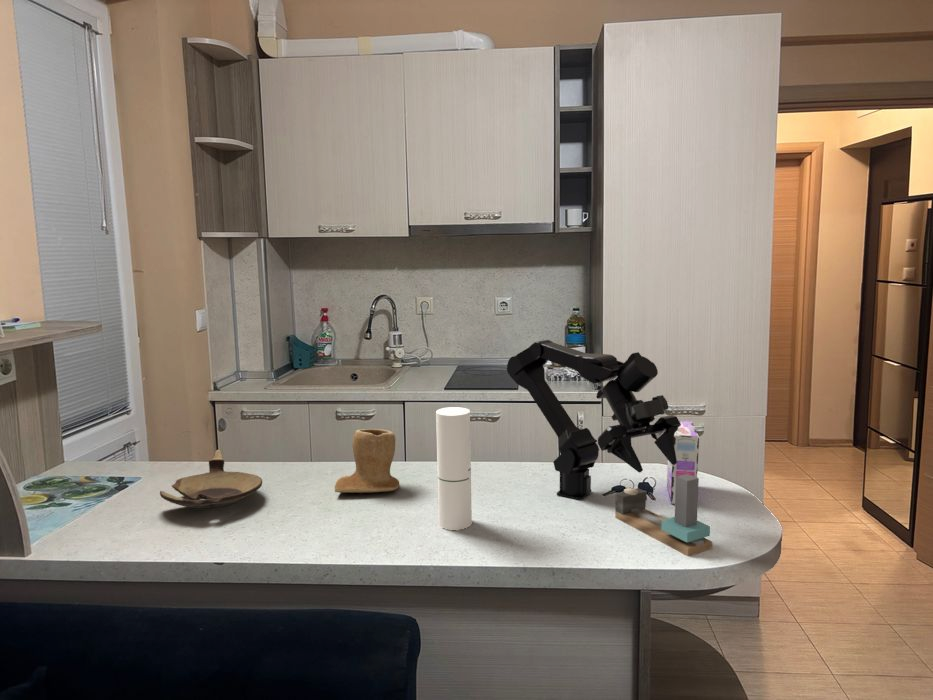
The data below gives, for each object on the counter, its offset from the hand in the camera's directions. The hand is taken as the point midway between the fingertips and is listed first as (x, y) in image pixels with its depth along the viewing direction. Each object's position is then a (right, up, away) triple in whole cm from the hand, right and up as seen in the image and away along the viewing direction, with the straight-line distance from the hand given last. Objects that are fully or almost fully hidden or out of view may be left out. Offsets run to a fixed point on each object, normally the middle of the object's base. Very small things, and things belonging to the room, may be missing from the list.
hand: (658, 467), depth 147 cm
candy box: (+11, -10, +22) cm, 26 cm away
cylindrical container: (-42, -14, +7) cm, 45 cm away
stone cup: (-64, -10, +29) cm, 71 cm away
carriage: (+4, -12, -5) cm, 14 cm away
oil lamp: (-99, -12, +24) cm, 102 cm away
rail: (+1, -14, +1) cm, 14 cm away
